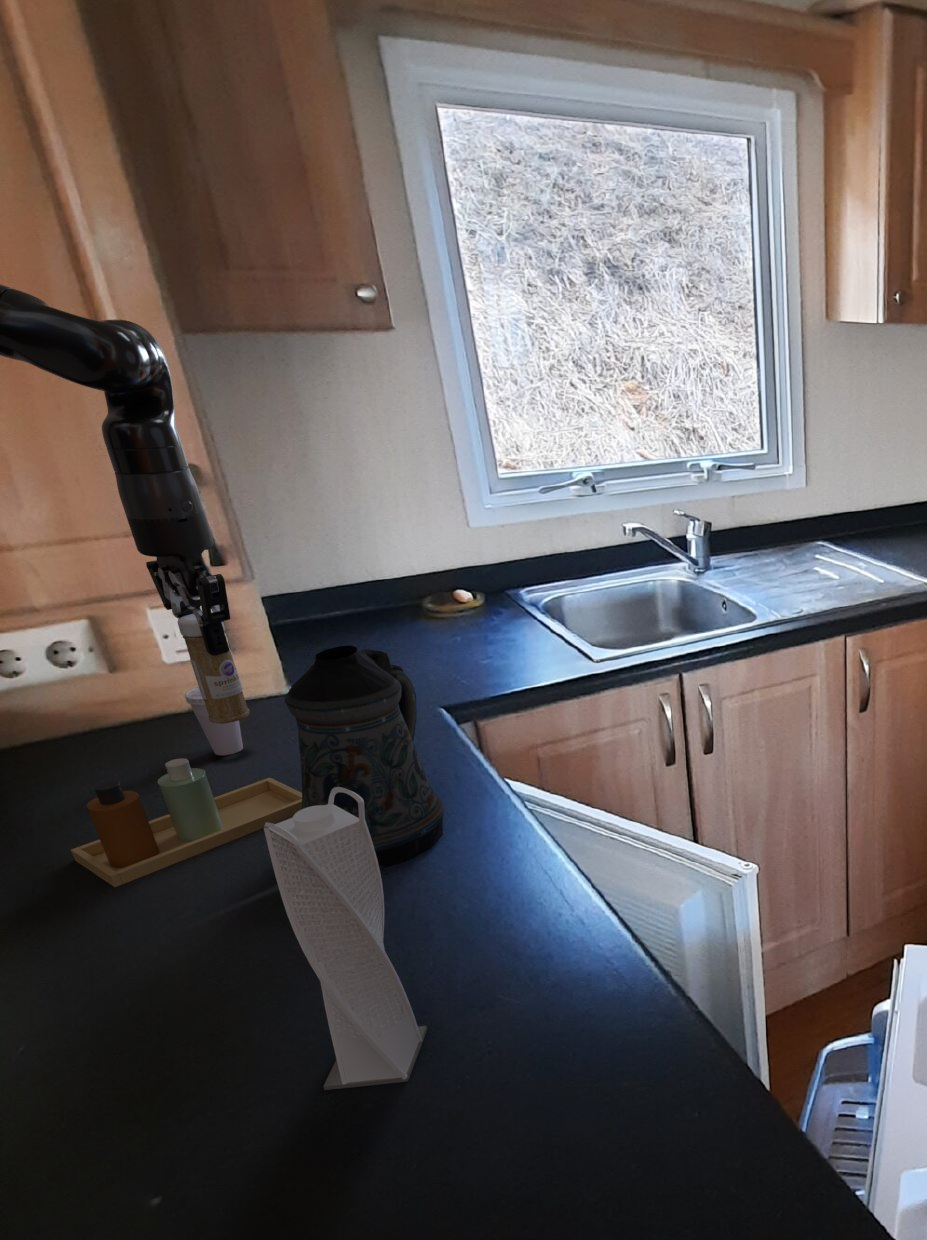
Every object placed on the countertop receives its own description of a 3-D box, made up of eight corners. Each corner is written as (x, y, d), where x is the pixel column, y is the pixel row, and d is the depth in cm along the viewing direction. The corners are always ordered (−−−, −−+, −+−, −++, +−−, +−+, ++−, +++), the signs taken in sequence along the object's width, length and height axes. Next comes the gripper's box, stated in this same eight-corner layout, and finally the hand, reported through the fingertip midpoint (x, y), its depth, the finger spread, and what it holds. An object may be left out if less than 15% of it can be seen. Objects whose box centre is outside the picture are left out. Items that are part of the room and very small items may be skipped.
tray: (116, 891, 114) (110, 876, 113) (76, 864, 119) (70, 849, 118) (315, 811, 132) (311, 797, 131) (273, 790, 137) (269, 777, 136)
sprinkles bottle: (238, 724, 123) (206, 622, 117) (201, 724, 123) (167, 622, 117) (258, 710, 127) (228, 610, 121) (222, 710, 127) (190, 610, 121)
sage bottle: (189, 846, 122) (163, 774, 118) (169, 834, 124) (144, 764, 120) (231, 829, 126) (208, 760, 121) (211, 819, 128) (188, 750, 124)
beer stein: (296, 884, 116) (236, 688, 105) (317, 810, 132) (266, 633, 121) (447, 859, 121) (405, 670, 110) (449, 791, 138) (413, 620, 126)
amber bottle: (121, 872, 116) (91, 799, 112) (102, 860, 119) (72, 787, 114) (167, 854, 120) (140, 782, 116) (148, 843, 123) (121, 772, 118)
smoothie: (196, 751, 147) (166, 664, 141) (241, 737, 152) (214, 652, 146) (216, 763, 144) (186, 674, 138) (261, 748, 149) (235, 661, 143)
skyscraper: (443, 1027, 94) (379, 768, 82) (421, 1088, 87) (348, 815, 74) (349, 1036, 93) (270, 774, 80) (320, 1099, 86) (227, 823, 73)
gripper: (99, 507, 114) (147, 646, 121) (158, 523, 107) (205, 669, 114) (170, 497, 119) (211, 630, 127) (230, 512, 112) (270, 652, 120)
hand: (208, 648), depth 121 cm, fingers closed on sprinkles bottle, 4 cm apart
